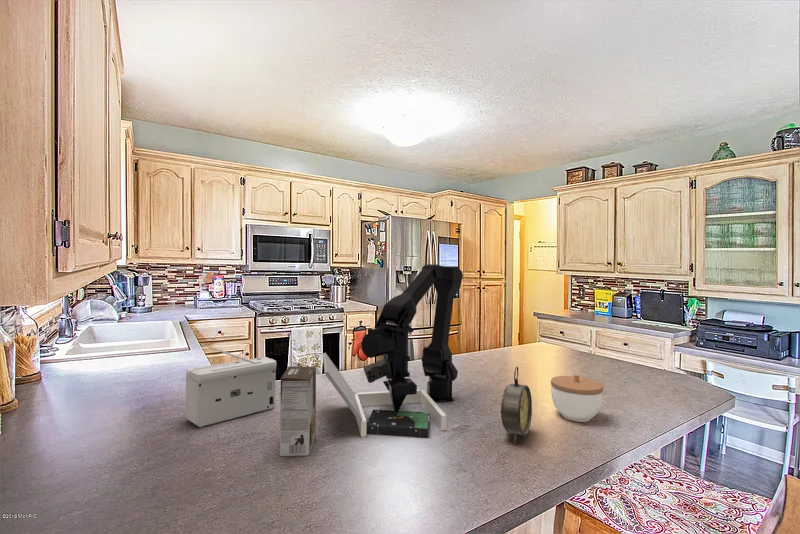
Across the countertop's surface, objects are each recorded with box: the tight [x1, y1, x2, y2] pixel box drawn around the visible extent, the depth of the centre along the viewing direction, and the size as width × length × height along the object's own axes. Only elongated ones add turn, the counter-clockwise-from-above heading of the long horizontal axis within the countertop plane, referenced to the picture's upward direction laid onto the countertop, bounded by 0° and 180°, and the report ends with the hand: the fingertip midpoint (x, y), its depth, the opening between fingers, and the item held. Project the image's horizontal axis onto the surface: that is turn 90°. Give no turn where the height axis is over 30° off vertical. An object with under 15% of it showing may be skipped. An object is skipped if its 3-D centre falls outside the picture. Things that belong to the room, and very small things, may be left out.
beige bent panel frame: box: [322, 352, 447, 438], centre depth 100 cm, size 29×20×15 cm
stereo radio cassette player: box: [185, 343, 278, 428], centre depth 101 cm, size 21×8×20 cm, turn 134°
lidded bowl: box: [550, 374, 604, 423], centre depth 103 cm, size 13×13×11 cm
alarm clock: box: [500, 366, 533, 445], centre depth 91 cm, size 11×5×16 cm, turn 148°
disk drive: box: [366, 408, 431, 439], centre depth 95 cm, size 10×3×15 cm
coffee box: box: [279, 365, 317, 457], centre depth 84 cm, size 9×6×16 cm
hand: (396, 411), depth 101 cm, fingers closed
